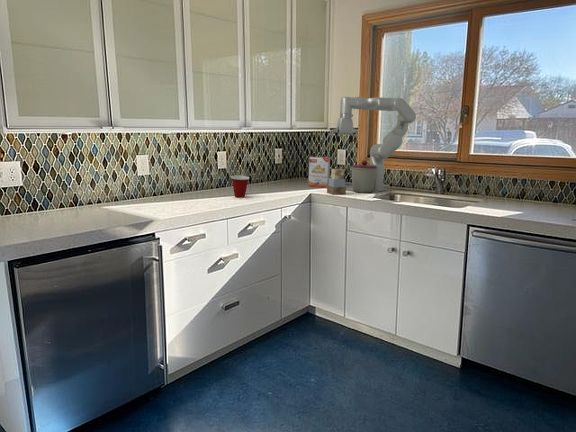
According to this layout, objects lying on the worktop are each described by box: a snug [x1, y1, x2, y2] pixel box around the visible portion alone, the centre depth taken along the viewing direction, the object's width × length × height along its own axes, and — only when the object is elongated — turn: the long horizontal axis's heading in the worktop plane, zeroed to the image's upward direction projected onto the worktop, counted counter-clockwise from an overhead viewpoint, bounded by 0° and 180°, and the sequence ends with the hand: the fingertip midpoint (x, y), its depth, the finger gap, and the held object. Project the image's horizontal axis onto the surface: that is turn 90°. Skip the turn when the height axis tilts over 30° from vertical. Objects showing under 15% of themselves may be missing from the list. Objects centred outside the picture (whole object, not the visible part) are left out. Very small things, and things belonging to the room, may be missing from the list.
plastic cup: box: [230, 175, 250, 199], centre depth 255 cm, size 11×11×12 cm
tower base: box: [326, 186, 347, 196], centre depth 281 cm, size 9×9×5 cm
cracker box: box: [307, 156, 331, 188], centre depth 312 cm, size 14×6×21 cm, turn 73°
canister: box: [350, 159, 378, 194], centre depth 291 cm, size 18×18×21 cm
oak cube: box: [330, 168, 345, 179], centre depth 279 cm, size 6×6×6 cm
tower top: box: [329, 177, 346, 187], centre depth 280 cm, size 8×8×5 cm
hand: (344, 142), depth 293 cm, fingers open, 9 cm apart
